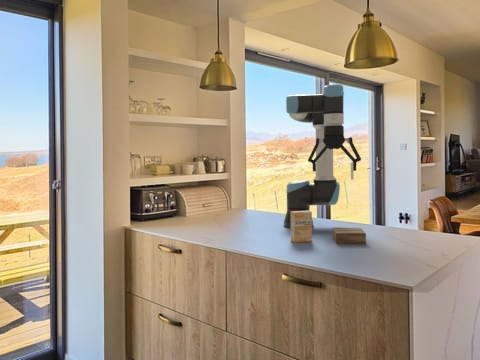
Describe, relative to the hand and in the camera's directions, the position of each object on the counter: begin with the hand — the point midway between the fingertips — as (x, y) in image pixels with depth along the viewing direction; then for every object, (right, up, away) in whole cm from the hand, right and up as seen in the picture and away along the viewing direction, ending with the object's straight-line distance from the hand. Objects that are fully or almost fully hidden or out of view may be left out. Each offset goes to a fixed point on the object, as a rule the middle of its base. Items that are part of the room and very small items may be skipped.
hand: (334, 179), depth 159 cm
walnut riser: (+9, -27, +14) cm, 31 cm away
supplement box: (-11, -27, +16) cm, 33 cm away
